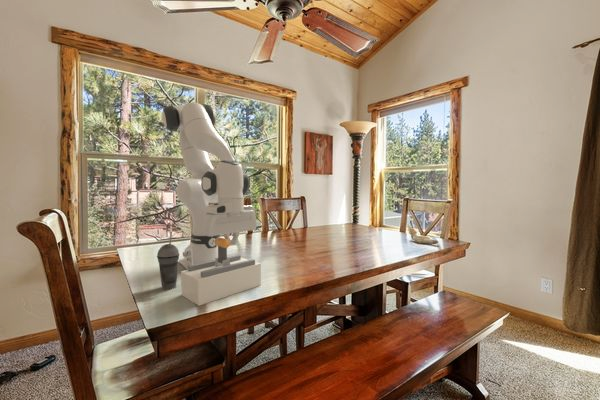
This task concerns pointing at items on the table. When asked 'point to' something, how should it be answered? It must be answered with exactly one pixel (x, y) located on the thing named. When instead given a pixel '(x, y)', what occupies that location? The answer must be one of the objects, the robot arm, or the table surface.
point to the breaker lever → (222, 248)
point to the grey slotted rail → (220, 269)
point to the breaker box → (219, 282)
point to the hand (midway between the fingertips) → (231, 245)
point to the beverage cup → (168, 264)
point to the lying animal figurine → (420, 237)
